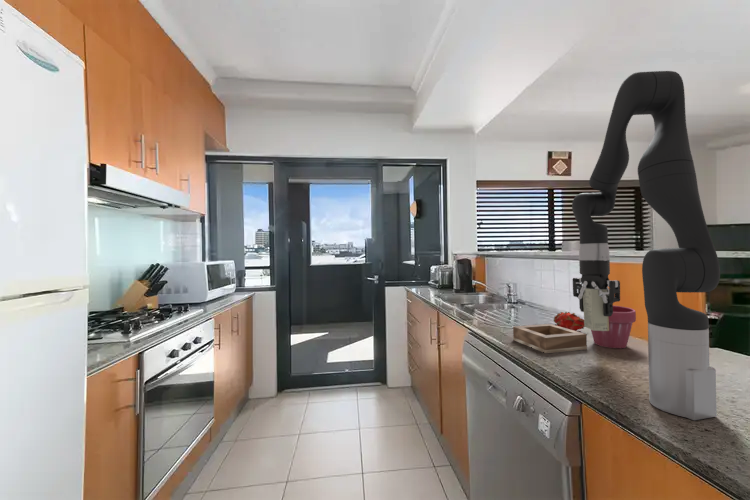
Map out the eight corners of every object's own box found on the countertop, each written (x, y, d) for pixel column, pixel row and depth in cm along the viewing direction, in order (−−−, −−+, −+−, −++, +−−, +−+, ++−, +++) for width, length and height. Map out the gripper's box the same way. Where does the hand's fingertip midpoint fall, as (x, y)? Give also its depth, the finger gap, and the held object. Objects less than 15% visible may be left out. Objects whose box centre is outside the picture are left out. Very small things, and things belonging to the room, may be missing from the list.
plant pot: (645, 352, 102) (644, 312, 102) (593, 349, 106) (593, 310, 106) (625, 340, 115) (624, 305, 115) (580, 337, 120) (580, 303, 120)
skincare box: (609, 331, 92) (608, 289, 92) (592, 331, 93) (591, 289, 93) (598, 326, 98) (597, 287, 98) (582, 326, 99) (581, 287, 99)
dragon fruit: (550, 332, 133) (584, 340, 128) (553, 324, 127) (589, 332, 121) (552, 314, 137) (585, 321, 132) (555, 305, 131) (590, 312, 126)
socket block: (586, 349, 106) (586, 334, 106) (545, 353, 102) (545, 337, 102) (550, 336, 122) (549, 323, 122) (513, 340, 118) (513, 326, 118)
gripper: (564, 259, 102) (565, 310, 102) (606, 259, 88) (607, 319, 88) (583, 258, 104) (585, 309, 103) (627, 258, 90) (629, 317, 90)
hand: (595, 313), depth 96 cm, fingers closed on skincare box, 7 cm apart
